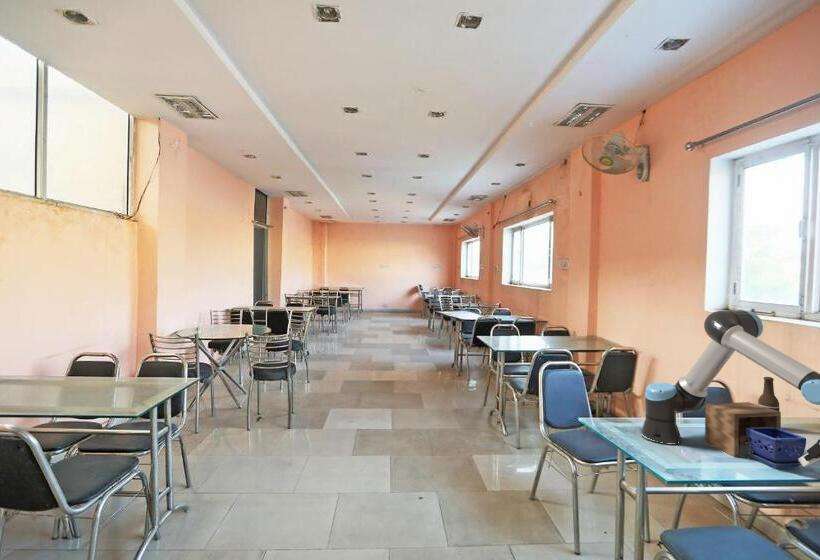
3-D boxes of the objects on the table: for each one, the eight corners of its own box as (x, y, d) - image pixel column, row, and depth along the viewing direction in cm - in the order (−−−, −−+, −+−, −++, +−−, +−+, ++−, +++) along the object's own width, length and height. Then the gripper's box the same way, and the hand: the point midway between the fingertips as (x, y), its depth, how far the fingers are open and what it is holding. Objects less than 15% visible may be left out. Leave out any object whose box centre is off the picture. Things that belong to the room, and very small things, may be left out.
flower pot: (743, 457, 168) (743, 426, 168) (774, 455, 170) (774, 425, 170) (775, 472, 155) (775, 439, 155) (808, 470, 156) (808, 438, 156)
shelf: (780, 454, 171) (780, 412, 171) (734, 457, 168) (734, 413, 168) (748, 441, 185) (748, 402, 185) (705, 443, 182) (705, 403, 182)
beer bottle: (784, 431, 197) (784, 379, 198) (767, 431, 198) (767, 379, 198) (770, 425, 205) (770, 375, 205) (753, 425, 205) (753, 375, 205)
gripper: (848, 444, 132) (793, 474, 149) (884, 442, 134) (826, 472, 151) (829, 422, 138) (778, 453, 154) (864, 420, 139) (810, 451, 156)
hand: (802, 462), depth 152 cm, fingers closed
